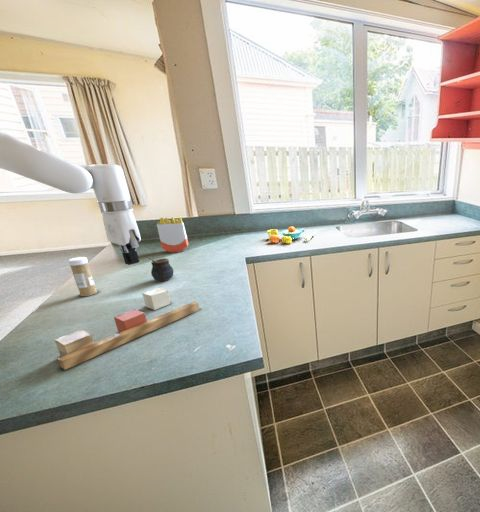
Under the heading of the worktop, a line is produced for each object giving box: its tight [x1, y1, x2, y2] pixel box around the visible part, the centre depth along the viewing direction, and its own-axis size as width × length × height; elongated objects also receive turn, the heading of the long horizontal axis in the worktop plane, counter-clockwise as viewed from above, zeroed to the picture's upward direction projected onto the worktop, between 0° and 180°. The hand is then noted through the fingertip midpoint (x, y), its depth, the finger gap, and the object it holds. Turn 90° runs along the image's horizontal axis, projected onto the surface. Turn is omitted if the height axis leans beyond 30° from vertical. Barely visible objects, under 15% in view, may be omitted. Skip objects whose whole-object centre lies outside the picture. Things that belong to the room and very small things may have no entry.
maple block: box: [54, 329, 95, 357], centre depth 72 cm, size 5×5×5 cm
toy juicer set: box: [266, 225, 316, 244], centre depth 177 cm, size 29×18×8 cm, turn 107°
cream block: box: [141, 287, 172, 311], centre depth 97 cm, size 5×5×5 cm
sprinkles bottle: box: [67, 256, 98, 297], centre depth 103 cm, size 5×5×14 cm
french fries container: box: [156, 216, 189, 253], centre depth 153 cm, size 5×11×18 cm, turn 114°
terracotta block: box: [113, 309, 148, 333], centre depth 83 cm, size 5×5×5 cm
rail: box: [57, 301, 200, 371], centre depth 82 cm, size 32×2×2 cm, turn 155°
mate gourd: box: [146, 256, 174, 282], centre depth 117 cm, size 7×8×10 cm
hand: (132, 263), depth 95 cm, fingers closed
